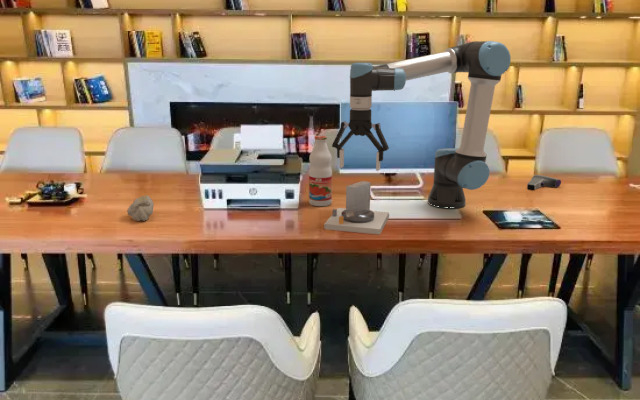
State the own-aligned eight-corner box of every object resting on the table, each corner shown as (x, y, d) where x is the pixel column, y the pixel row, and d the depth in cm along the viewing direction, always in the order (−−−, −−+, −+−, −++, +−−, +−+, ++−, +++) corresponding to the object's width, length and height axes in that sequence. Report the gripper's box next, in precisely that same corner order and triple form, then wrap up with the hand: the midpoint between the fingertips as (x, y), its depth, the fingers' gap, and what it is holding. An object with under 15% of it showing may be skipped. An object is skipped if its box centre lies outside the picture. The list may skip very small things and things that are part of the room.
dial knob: (354, 210, 206) (355, 178, 202) (380, 216, 198) (381, 183, 195) (334, 217, 197) (335, 184, 194) (361, 224, 190) (362, 190, 186)
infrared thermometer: (524, 191, 246) (533, 182, 257) (552, 196, 239) (560, 186, 250) (525, 182, 244) (534, 173, 256) (553, 186, 238) (561, 177, 249)
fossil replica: (135, 225, 195) (161, 221, 202) (136, 204, 193) (161, 200, 200) (121, 215, 203) (145, 212, 210) (121, 194, 201) (146, 192, 208)
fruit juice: (334, 201, 225) (335, 134, 217) (328, 207, 217) (329, 138, 209) (312, 199, 228) (312, 133, 220) (306, 205, 219) (305, 137, 211)
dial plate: (388, 217, 205) (389, 206, 204) (379, 234, 187) (380, 222, 185) (338, 212, 210) (338, 201, 209) (324, 229, 192) (324, 217, 191)
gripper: (323, 108, 188) (323, 167, 194) (393, 111, 179) (391, 173, 185) (330, 106, 194) (330, 163, 200) (398, 108, 186) (396, 168, 192)
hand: (359, 168), depth 193 cm, fingers open, 13 cm apart
